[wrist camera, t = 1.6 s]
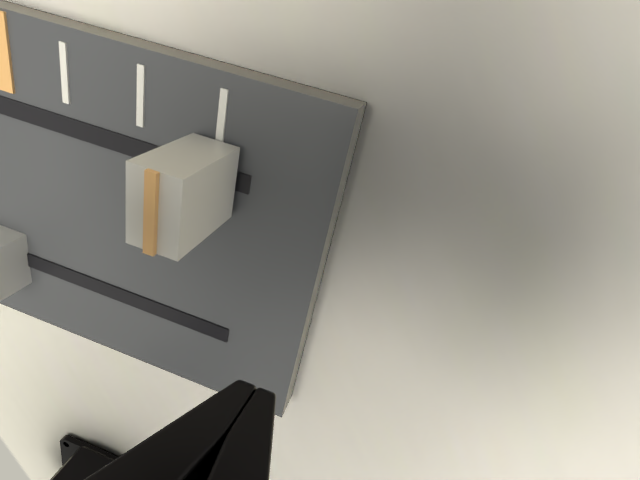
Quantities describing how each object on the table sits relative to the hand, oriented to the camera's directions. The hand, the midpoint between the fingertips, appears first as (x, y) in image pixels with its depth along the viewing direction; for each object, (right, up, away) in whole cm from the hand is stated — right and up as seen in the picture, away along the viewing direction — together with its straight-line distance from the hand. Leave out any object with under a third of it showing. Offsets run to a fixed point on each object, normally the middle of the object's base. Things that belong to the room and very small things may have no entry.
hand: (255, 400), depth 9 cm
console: (-10, +5, +13) cm, 18 cm away
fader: (-3, +6, +9) cm, 11 cm away
